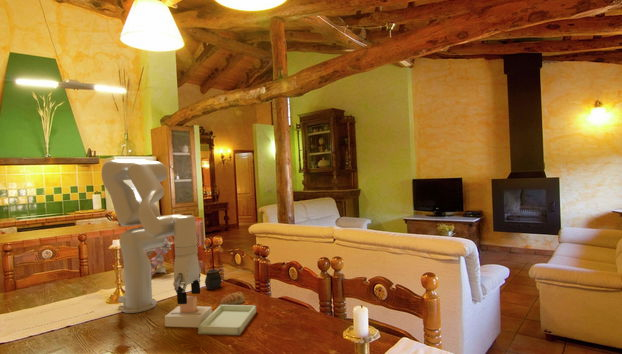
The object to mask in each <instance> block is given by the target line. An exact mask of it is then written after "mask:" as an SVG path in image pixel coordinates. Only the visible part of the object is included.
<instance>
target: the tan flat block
mask: <svg viewBox="0 0 622 354" xmlns="http://www.w3.org/2000/svg"><path fill="white" fill-rule="evenodd" d="M197 301H198V299H197V295H196V296H195V295H194V296H193V295H187V303H186V304H179V306H180V312H185V313H196V312H197V306H198V305H197V304H198V302H197Z"/></svg>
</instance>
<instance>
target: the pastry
mask: <svg viewBox="0 0 622 354" xmlns="http://www.w3.org/2000/svg"><path fill="white" fill-rule="evenodd" d="M243 294H244V293H243V292H241V291H236V292H232V293H229V294H228V295H226V296H224V297H222V299H221V300H220V302H219V306H220V305H241V304H242V303H244V302H245V301H246V300H245V296H244V295H243Z"/></svg>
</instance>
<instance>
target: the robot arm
mask: <svg viewBox="0 0 622 354" xmlns="http://www.w3.org/2000/svg"><path fill="white" fill-rule="evenodd" d="M167 177H168V170H167V167H166V165H165V164H164V163H162V162H160V161H158V160H151V159H150V160H149V159H143V158H141V159H140V158H139V159H138V158H137V159H134V158H133V159H132V158H131V159H127V158H123V159H122V158H121V159H120V158H118V159H117V158H116V159H111V160H108V161H106V162H105V163H104V164H103V165H102V167H101V180H102V183H103V185H104V187H105V189H106V191H107V192H108V194H109V197H110V199H111V202H112V203H111V204H112V206H113V209H114V213H115V216H116V219H117V221H118V223H119V226H121V227H133V228H130V229H126V230H125V231H123V232H122V233H121V234H120V236H119V245H120V250H121V254H122V261H123V273H124V274H123V275H124V276H123V277H124V293H125V295H120V296H119V297H118V299H117V303H118V304H119V303H122V306H121V312H123V313H125V314H136V313H143V312H145V311H148V310H151V309H153V308H155V307H156V306H157V303H158V302H157V299H155V298H153V286H152V284H153V283H152V276H151V272H152V271H151V263H150V261H151V258H150V256H147V255H146V254H145V252H144V251H146V250H148V249H153V248H157V247H160V246H162V245H163V244H164V243H165V241H166V237H167V236H169V237H173V242H174V243H173V244H174V256H175V257H174V263H173V266H174V267H173V282H172V283H173V284H172V285H173V287H174V291H175V293H176V299H177V301H176V302H177V305H180V304H186V303H187V296H188V294H187V291H186V289H187V286H188V285H190V292H191V294H192V295H199V294H201V283H200V282H201V271H202V269H201V267H200V265H199V264H200V263H199V262H200V261H199V256H198V250H199V249H198V237H197V222H196V217H195V216H194V215H192V214H188V215H187V214H185V215H183V214H181V213H175V214H169V215H168V214H167V215H161V213H160V209H159V207H158V206H157V204H155V203H157V202H158V201H160V200H161V199H162V198H163V197H164V195H165V192H166V191H165V188H164V187H163V185H162V183H161V182H163V181H165V180H166V179H167ZM125 181H131V183H132V184H133V187H134V188H135V189H136V191H137V193H138V195H139V198H141V201H139V200H137V198H136V195H135V191H134V190H133V189H132V187H131V186H130V185H129V184H127V183H126V182H125ZM134 226H140V227H134Z"/></svg>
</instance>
